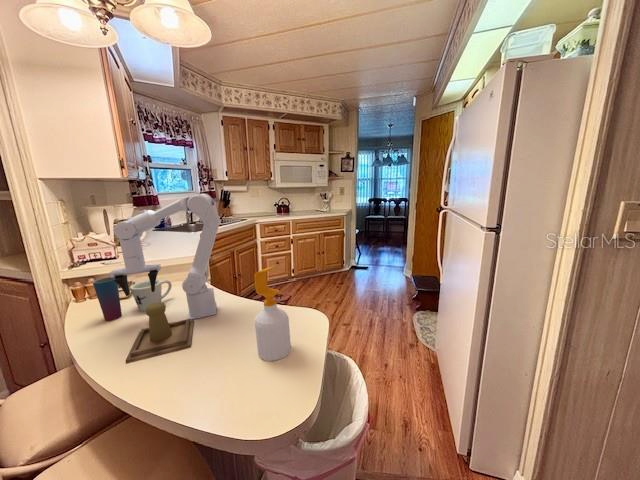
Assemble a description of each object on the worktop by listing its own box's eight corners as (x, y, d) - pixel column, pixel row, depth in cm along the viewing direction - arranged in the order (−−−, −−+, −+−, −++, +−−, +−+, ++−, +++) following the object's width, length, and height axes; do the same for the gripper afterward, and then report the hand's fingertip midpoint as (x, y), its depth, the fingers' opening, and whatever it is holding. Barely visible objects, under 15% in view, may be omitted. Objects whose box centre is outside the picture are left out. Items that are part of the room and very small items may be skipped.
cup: (112, 323, 94) (103, 283, 91) (97, 321, 96) (87, 282, 93) (129, 313, 101) (121, 276, 98) (114, 312, 102) (106, 276, 99)
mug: (129, 310, 104) (124, 286, 102) (166, 295, 116) (162, 274, 114) (144, 315, 99) (139, 290, 97) (181, 299, 111) (177, 277, 109)
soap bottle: (276, 365, 68) (267, 275, 63) (251, 355, 73) (241, 270, 67) (297, 347, 75) (291, 264, 70) (273, 338, 80) (265, 260, 75)
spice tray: (193, 322, 92) (192, 316, 92) (190, 347, 78) (189, 340, 77) (140, 333, 86) (138, 328, 86) (126, 363, 72) (124, 356, 71)
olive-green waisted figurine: (175, 330, 86) (169, 299, 83) (166, 341, 80) (159, 307, 77) (156, 332, 85) (150, 300, 83) (145, 343, 79) (138, 309, 77)
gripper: (159, 250, 97) (166, 285, 99) (111, 256, 91) (119, 292, 94) (156, 254, 90) (163, 291, 93) (104, 261, 85) (113, 300, 88)
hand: (141, 292), depth 93 cm, fingers open, 7 cm apart
